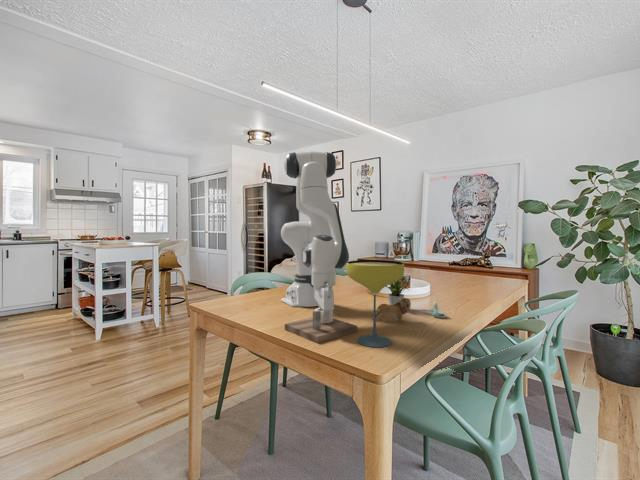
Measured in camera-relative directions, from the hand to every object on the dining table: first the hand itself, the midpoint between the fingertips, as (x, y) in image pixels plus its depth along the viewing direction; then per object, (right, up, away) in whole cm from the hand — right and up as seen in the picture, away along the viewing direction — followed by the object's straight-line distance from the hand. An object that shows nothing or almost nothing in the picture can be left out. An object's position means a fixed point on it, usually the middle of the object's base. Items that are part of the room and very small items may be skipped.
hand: (323, 317), depth 120 cm
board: (-1, -3, -5) cm, 6 cm away
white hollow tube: (0, -1, 0) cm, 1 cm away
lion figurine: (+27, -3, +7) cm, 28 cm away
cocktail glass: (+16, -4, -16) cm, 23 cm away
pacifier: (+47, -3, +14) cm, 49 cm away
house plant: (+33, -3, +25) cm, 41 cm away
